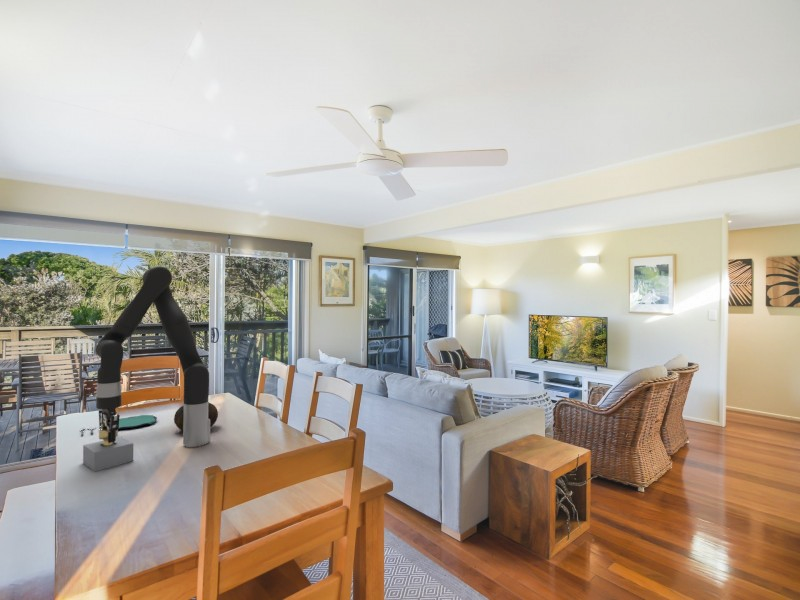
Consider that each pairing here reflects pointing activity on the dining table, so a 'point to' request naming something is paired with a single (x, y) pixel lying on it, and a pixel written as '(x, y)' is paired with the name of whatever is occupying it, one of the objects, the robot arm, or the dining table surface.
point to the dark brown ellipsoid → (211, 415)
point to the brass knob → (105, 437)
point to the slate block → (107, 454)
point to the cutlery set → (133, 421)
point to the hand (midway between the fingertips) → (108, 440)
